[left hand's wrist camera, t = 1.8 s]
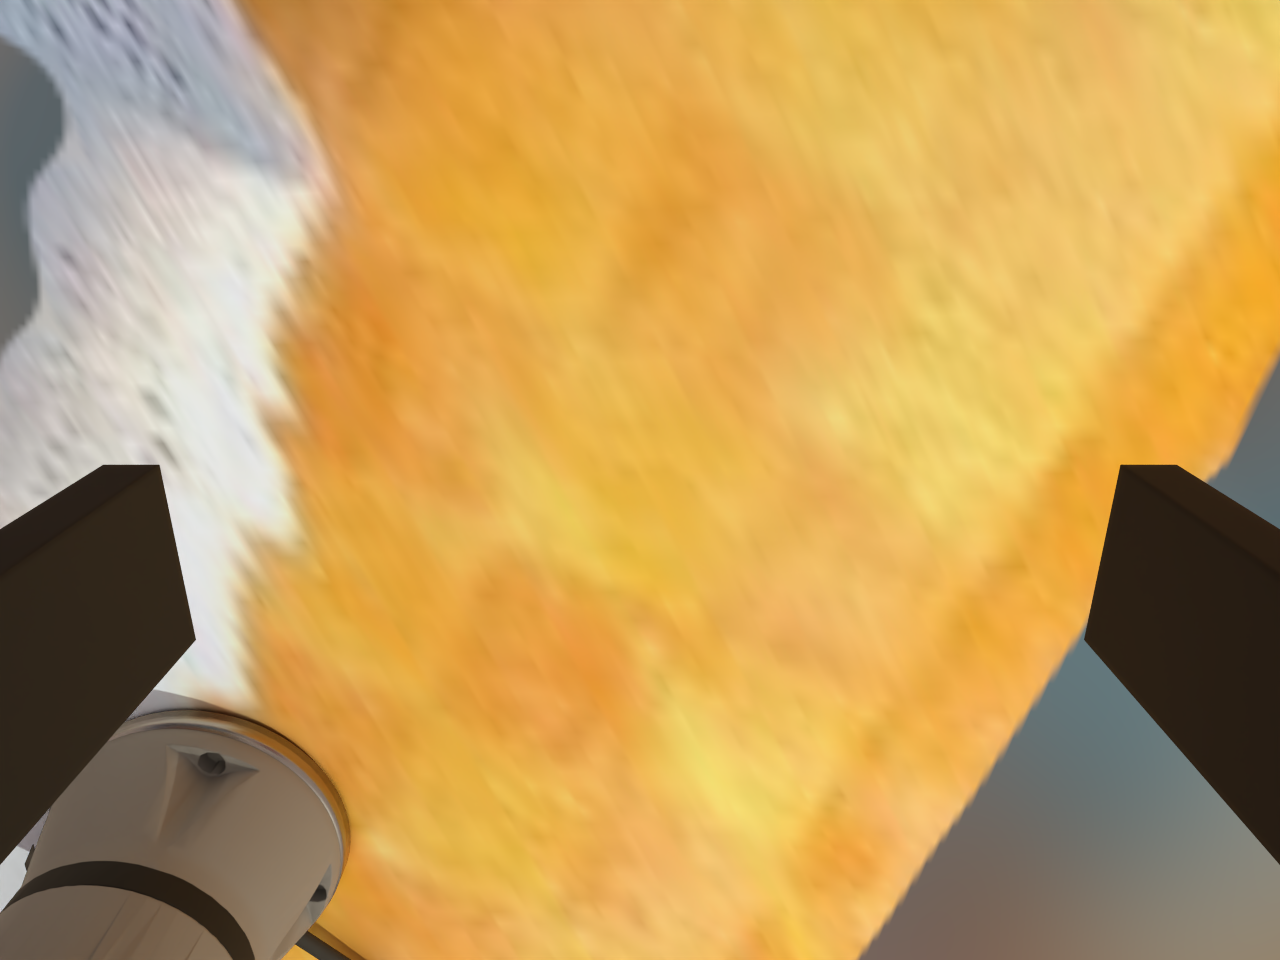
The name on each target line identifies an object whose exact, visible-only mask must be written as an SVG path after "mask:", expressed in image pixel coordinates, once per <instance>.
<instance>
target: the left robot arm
mask: <svg viewBox="0 0 1280 960" xmlns="http://www.w3.org/2000/svg"><path fill="white" fill-rule="evenodd" d="M195 640H196V638H195V633H194V629H193V624H192V619H191V614H190V609H189V605H188V600H187V595H186V590H185V585H184V581H183V576H182V571H181V566H180V561H179V557H178V552H177V547H176V542H175V537H174V533H173V528H172V523H171V518H170V513H169V509H168V504H167V499H166V494H165V489H164V485H163V480H162V475H161V470H160V465H102V466H101V467H99V468H97V469H96V470H94V471H93V472H91V473H89V474H88V475H86V476H85V477H83V478H81V479H80V480H78V481H77V482H75V483H73V484H72V485H70V486H69V487H67V488H65V489H64V490H62V491H61V492H59V493H57V494H56V495H54V496H53V497H51V498H50V499H48V500H46V501H45V502H43V503H42V504H40V505H38V506H37V507H35V508H34V509H32V510H30V511H29V512H27V513H26V514H24V515H22V516H21V517H19V518H18V519H16V520H14V521H13V522H11V523H10V524H8V525H6V526H5V527H3V528H2V529H0V864H1V863H2V862H3V861H4V860H5V859H6V857H7V856H8V855H9V854H10V853H11V852H12V851H13V849H14V848H15V847H16V846H17V845H18V844H19V842H20V841H21V840H22V839H23V838H24V837H25V836H26V834H27V833H28V832H29V831H30V830H31V829H32V828H33V826H34V825H35V824H36V823H37V822H38V821H39V820H40V818H41V817H42V816H43V815H44V814H45V813H46V811H47V810H48V809H49V808H50V807H51V806H52V805H53V803H54V802H55V801H56V800H57V799H58V798H59V797H60V795H61V794H62V793H63V792H64V791H65V790H66V788H67V787H68V786H69V785H70V784H71V783H72V782H73V780H74V779H75V778H76V777H77V776H78V775H79V774H80V772H81V771H82V770H83V769H84V768H85V767H86V765H87V764H88V763H89V762H90V761H91V760H92V759H93V757H94V756H95V755H96V754H97V753H98V752H99V751H100V749H101V748H102V747H103V746H104V745H105V744H106V742H107V741H108V740H109V739H110V738H111V737H112V736H113V734H114V733H115V732H116V731H117V730H118V729H119V728H120V726H121V725H122V724H123V723H124V722H125V721H126V719H127V718H128V717H129V716H130V715H131V714H132V713H133V711H134V710H135V709H136V708H137V707H138V706H139V705H140V703H141V702H142V701H143V700H144V699H145V698H146V696H147V695H148V694H149V693H150V692H151V691H152V690H153V688H154V687H155V686H156V685H157V684H158V683H159V682H160V680H161V679H162V678H163V677H164V676H165V675H166V674H167V672H168V671H169V670H170V669H171V668H172V667H173V665H174V664H175V663H176V662H177V661H178V660H179V659H180V657H181V656H182V655H183V654H184V653H185V652H186V651H187V649H188V648H189V647H190V646H191V645H192V644H193V642H194V641H195ZM1084 640H1085V641H1086V642H1087V644H1088V645H1089V646H1090V647H1091V648H1092V649H1093V651H1094V652H1095V653H1096V654H1097V655H1098V656H1099V657H1100V659H1101V660H1102V661H1103V662H1104V663H1105V664H1106V665H1107V667H1108V668H1109V669H1110V670H1111V671H1112V672H1113V673H1114V675H1115V676H1116V677H1117V678H1118V679H1119V680H1120V682H1121V683H1122V684H1123V685H1124V686H1125V687H1126V688H1127V690H1128V691H1129V692H1130V693H1131V694H1132V695H1133V696H1134V698H1135V699H1136V700H1137V701H1138V702H1139V703H1140V705H1141V706H1142V707H1143V708H1144V709H1145V710H1146V711H1147V713H1148V714H1149V715H1150V716H1151V717H1152V718H1153V719H1154V721H1155V722H1156V723H1157V724H1158V725H1159V726H1160V728H1161V729H1162V730H1163V731H1164V732H1165V733H1166V734H1167V736H1168V737H1169V738H1170V739H1171V740H1172V741H1173V742H1174V744H1175V745H1176V746H1177V747H1178V748H1179V749H1180V751H1181V752H1182V753H1183V754H1184V755H1185V756H1186V757H1187V759H1188V760H1189V761H1190V762H1191V763H1192V764H1193V765H1194V767H1195V768H1196V769H1197V770H1198V771H1199V772H1200V774H1201V775H1202V776H1203V777H1204V778H1205V779H1206V780H1207V782H1208V783H1209V784H1210V785H1211V786H1212V787H1213V788H1214V790H1215V791H1216V792H1217V793H1218V794H1219V795H1220V797H1221V798H1222V799H1223V800H1224V801H1225V802H1226V803H1227V805H1228V806H1229V807H1230V808H1231V809H1232V810H1233V811H1234V813H1235V814H1236V815H1237V816H1238V817H1239V818H1240V820H1241V821H1242V822H1243V823H1244V824H1245V825H1246V826H1247V827H1248V829H1249V830H1250V831H1251V832H1252V833H1253V834H1254V836H1255V837H1256V838H1257V839H1258V840H1259V841H1260V842H1261V844H1262V845H1263V846H1264V847H1265V848H1266V849H1267V851H1268V852H1269V853H1270V854H1271V855H1272V856H1273V857H1274V859H1275V860H1276V861H1277V862H1278V863H1279V864H1280V529H1278V528H1277V527H1275V526H1274V525H1272V524H1270V523H1269V522H1267V521H1266V520H1264V519H1262V518H1261V517H1259V516H1258V515H1256V514H1254V513H1253V512H1251V511H1250V510H1248V509H1246V508H1245V507H1243V506H1242V505H1240V504H1238V503H1237V502H1235V501H1234V500H1232V499H1230V498H1229V497H1227V496H1226V495H1224V494H1222V493H1221V492H1219V491H1218V490H1216V489H1215V488H1213V487H1211V486H1210V485H1208V484H1207V483H1205V482H1203V481H1202V480H1200V479H1199V478H1197V477H1195V476H1194V475H1192V474H1191V473H1189V472H1187V471H1186V470H1184V469H1183V468H1181V467H1179V466H1178V465H1120V470H1119V475H1118V480H1117V485H1116V489H1115V494H1114V499H1113V504H1112V509H1111V513H1110V518H1109V523H1108V528H1107V533H1106V537H1105V542H1104V547H1103V552H1102V557H1101V561H1100V566H1099V571H1098V576H1097V581H1096V585H1095V590H1094V595H1093V600H1092V605H1091V609H1090V614H1089V619H1088V624H1087V628H1086V633H1085V638H1084Z"/></svg>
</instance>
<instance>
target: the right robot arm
mask: <svg viewBox="0 0 1280 960" xmlns="http://www.w3.org/2000/svg"><path fill="white" fill-rule="evenodd" d="M349 849H350V828H349V821H348V817H347V814H346V810H345V808H344V805H343V803H342V800H341V798H340V796H339V794H338V792H337V790H336V789H335V787H334V786H333V784H332V782H331V781H330V779H329V778H328V777H327V776H326V774H325V773H324V772H323V771H322V769H321V768H320V767H319V766H318V765H317V764H316V763H315V762H314V761H313V760H312V759H311V758H310V757H309V756H307V755H306V754H305V753H304V752H303V751H302V750H300V749H299V748H298V747H296V746H295V745H294V744H292V743H291V742H289V741H288V740H286V739H284V738H283V737H281V736H279V735H278V734H276V733H274V732H272V731H270V730H268V729H266V728H264V727H262V726H259V725H257V724H254V723H252V722H249V721H246V720H243V719H240V718H237V717H233V716H229V715H225V714H220V713H214V712H208V711H196V710H175V711H164V712H158V713H152V714H148V715H144V716H141V717H137V718H134V719H132V720H129V721H126V722H124V723H123V724H122V725H121V726H120V728H119V729H118V730H117V731H116V732H115V733H114V734H113V736H112V737H111V738H110V739H109V740H108V741H107V742H106V744H105V745H104V746H103V747H102V748H101V749H100V751H99V752H98V753H97V754H96V755H95V756H94V757H93V759H92V760H91V761H90V762H89V763H88V764H87V765H86V767H85V768H84V769H83V770H82V771H81V772H80V774H79V775H78V776H77V777H76V778H75V779H74V780H73V782H72V783H71V784H70V785H69V786H68V787H67V788H66V790H65V791H64V792H63V793H62V794H61V795H60V797H59V798H58V799H57V800H56V801H55V802H54V803H53V805H52V806H51V807H50V809H49V815H48V817H47V820H46V822H45V824H44V827H43V829H42V832H41V835H40V837H39V840H38V843H37V845H36V848H34V845H32V848H31V850H30V853H29V855H28V857H27V860H26V862H25V867H26V870H27V873H26V875H25V878H24V881H23V884H22V886H21V888H20V889H19V890H18V892H17V893H16V894H15V895H14V897H13V898H12V899H11V900H10V902H9V903H8V904H7V905H6V907H5V908H4V909H3V910H2V912H1V913H0V960H281V959H282V958H283V957H284V956H285V955H286V953H287V952H288V951H289V950H290V949H291V948H292V947H293V946H294V945H295V944H296V945H297V946H299V947H300V948H302V949H303V950H305V951H306V952H308V953H310V954H311V955H313V956H314V957H316V958H317V959H319V960H351V959H349V958H348V957H346V956H345V955H343V954H341V953H340V952H338V951H337V950H335V949H334V948H332V947H331V946H329V945H328V944H326V943H325V942H323V941H322V940H320V939H319V938H317V937H316V936H314V935H313V934H311V933H310V932H308V931H307V930H308V929H309V928H310V927H311V926H312V925H313V924H314V923H315V921H316V920H317V919H318V918H319V917H320V915H321V914H322V912H323V911H324V909H325V908H326V906H327V905H328V903H329V902H330V900H331V899H332V897H333V895H334V893H335V891H336V888H337V886H338V883H339V881H340V878H341V876H342V873H343V871H344V868H345V866H346V863H347V859H348V855H349Z"/></svg>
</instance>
